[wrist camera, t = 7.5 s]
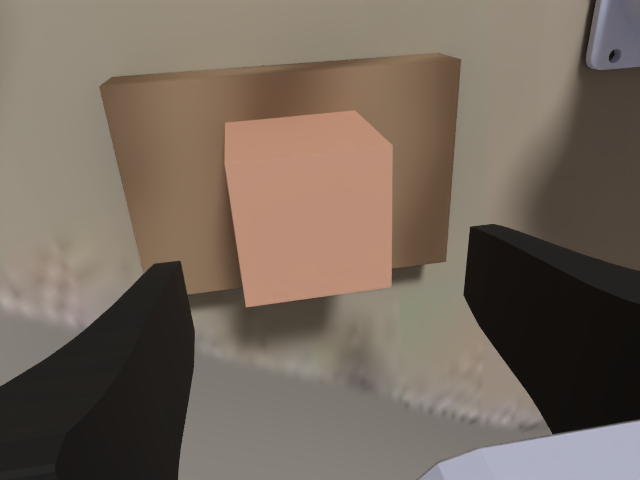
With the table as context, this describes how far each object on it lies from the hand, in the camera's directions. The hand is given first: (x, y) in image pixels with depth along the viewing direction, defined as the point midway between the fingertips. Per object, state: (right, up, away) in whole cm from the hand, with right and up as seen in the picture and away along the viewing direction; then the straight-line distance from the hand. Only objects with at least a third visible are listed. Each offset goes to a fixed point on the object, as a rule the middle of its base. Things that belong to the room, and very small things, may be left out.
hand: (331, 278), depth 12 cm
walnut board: (-1, +4, +8) cm, 9 cm away
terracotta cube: (-1, +3, +6) cm, 7 cm away
